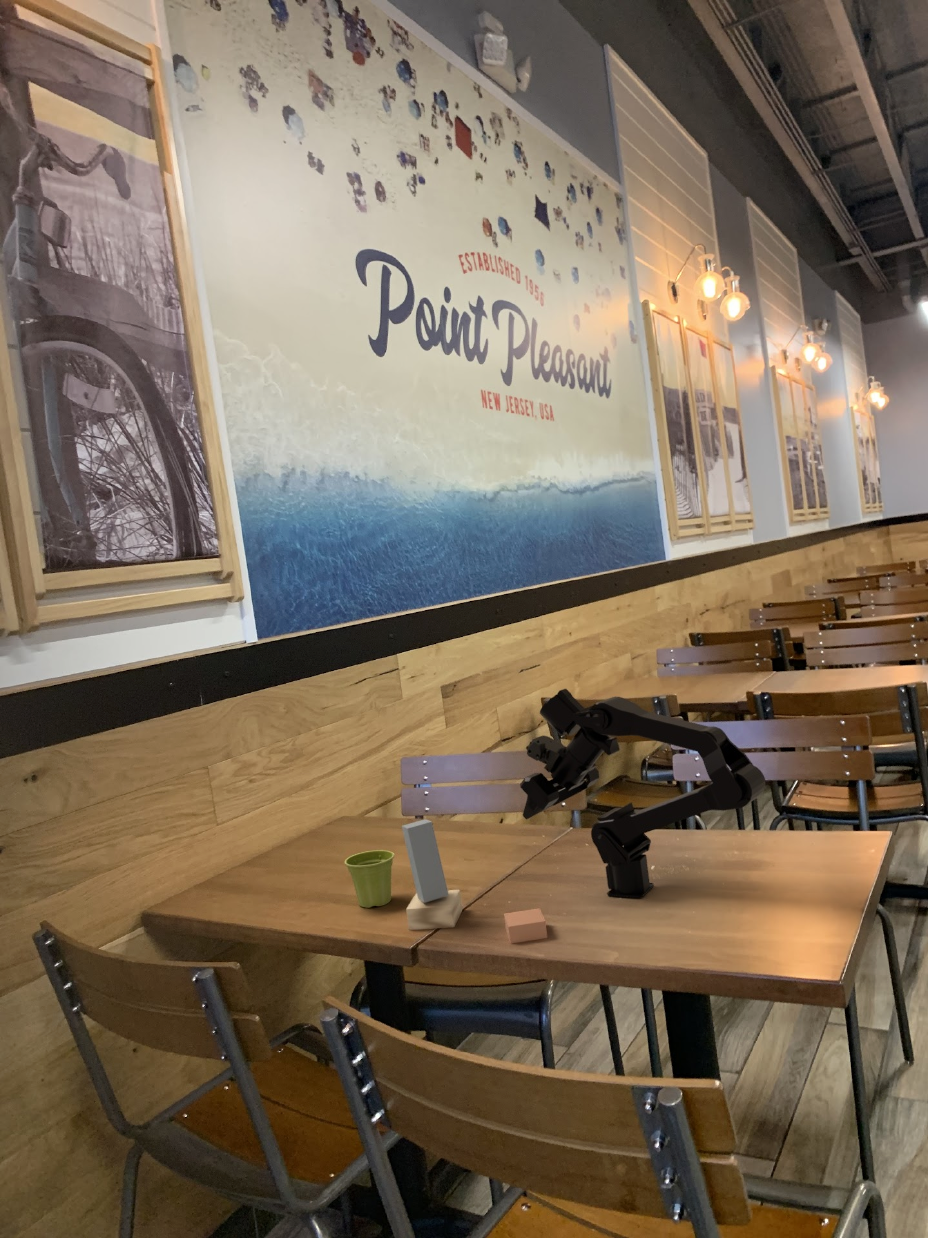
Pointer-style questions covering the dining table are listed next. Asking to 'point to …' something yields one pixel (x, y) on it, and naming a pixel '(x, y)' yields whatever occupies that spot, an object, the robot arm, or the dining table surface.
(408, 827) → the slate post
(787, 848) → the dining table surface
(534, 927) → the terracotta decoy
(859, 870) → the dining table surface
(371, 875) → the plant pot
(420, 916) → the birch base
